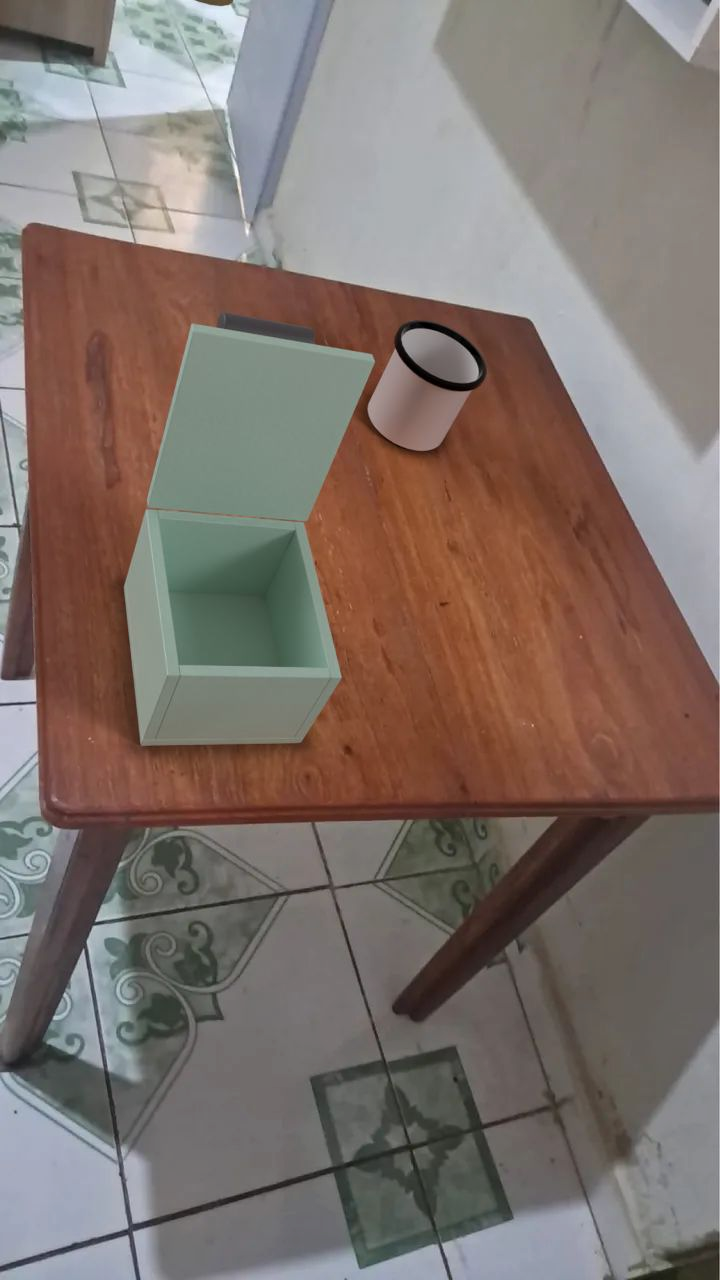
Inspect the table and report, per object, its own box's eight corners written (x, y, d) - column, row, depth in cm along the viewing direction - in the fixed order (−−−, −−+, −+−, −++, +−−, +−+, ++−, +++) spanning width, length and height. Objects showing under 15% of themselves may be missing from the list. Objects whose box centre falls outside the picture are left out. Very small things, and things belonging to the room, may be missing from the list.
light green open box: (300, 743, 69) (342, 677, 63) (140, 746, 64) (167, 675, 58) (269, 594, 76) (304, 522, 70) (123, 587, 72) (145, 508, 65)
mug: (396, 464, 92) (435, 392, 85) (343, 397, 95) (377, 323, 88) (481, 444, 99) (523, 377, 92) (430, 382, 102) (467, 313, 95)
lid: (375, 361, 59) (356, 313, 62) (193, 330, 55) (181, 279, 58) (307, 522, 69) (293, 473, 72) (147, 508, 65) (139, 456, 68)
